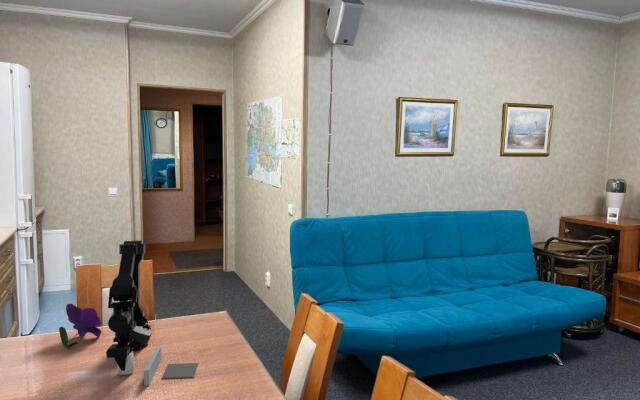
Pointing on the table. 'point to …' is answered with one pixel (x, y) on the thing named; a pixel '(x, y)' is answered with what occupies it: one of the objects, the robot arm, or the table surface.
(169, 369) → the mat
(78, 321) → the flower
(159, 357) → the wall
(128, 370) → the cream rounded cone
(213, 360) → the table surface
